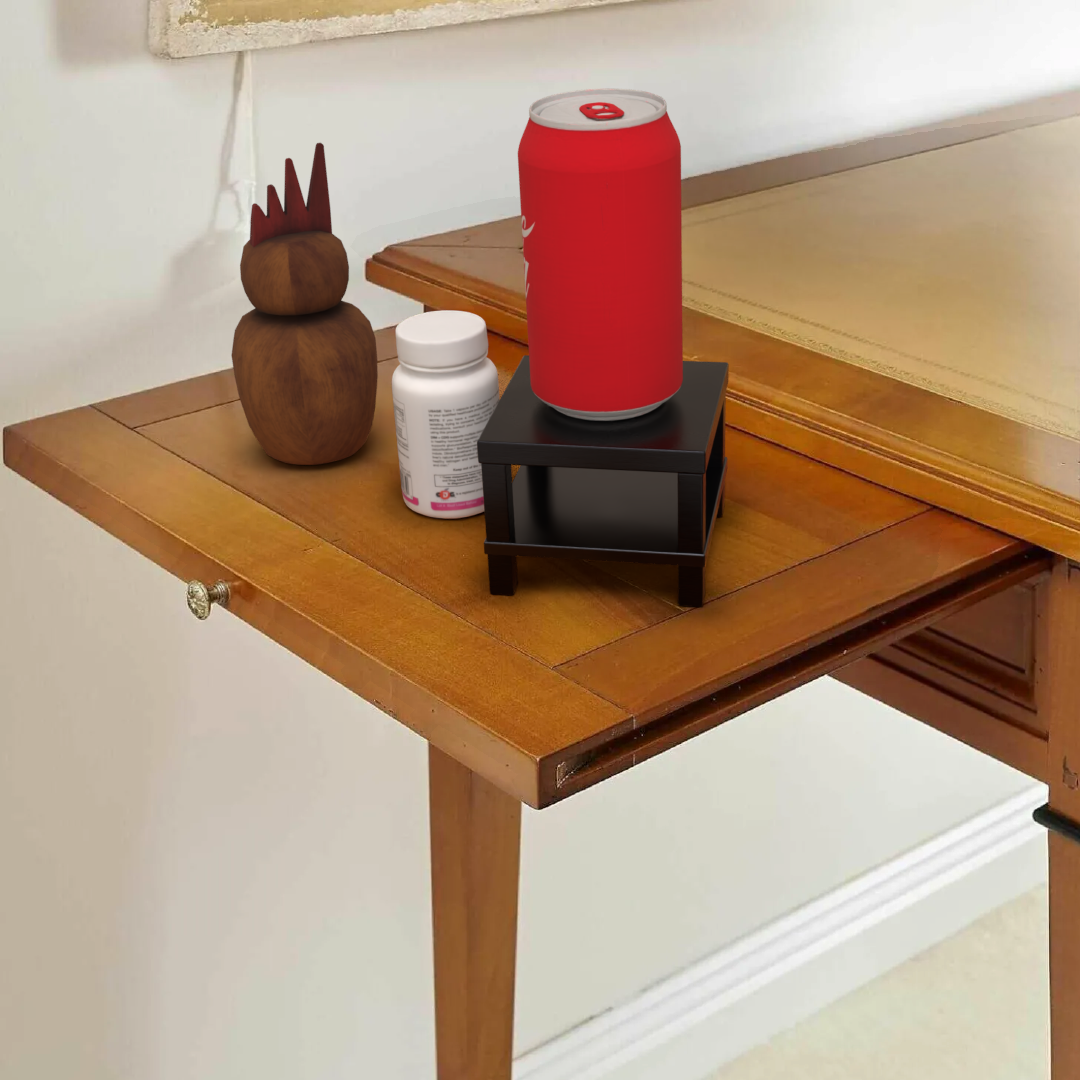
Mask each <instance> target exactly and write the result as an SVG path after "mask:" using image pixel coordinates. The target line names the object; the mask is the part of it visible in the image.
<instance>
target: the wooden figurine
mask: <svg viewBox="0 0 1080 1080" xmlns="http://www.w3.org/2000/svg"><path fill="white" fill-rule="evenodd" d="M314 147H315V148H314V154H313V159H312V165H311V172H310V177H309V178H310V179H309V186H308V191H307V199H306V202H305V199H304V195H303V191H302V189H301V184H300V182H299V178H298V175H297V171H296V168H295V165H294V162H293V159H292V158H290V157H286V158H285V160H284V192H283V193H284V194H283V195H284V196H283V202H284V203H283V205H282V203H281V200H280V198H279V194H278V192H277V188H276V187H275V186H274V185H273V184H267V186H266V213H265V212H264V211H263V209H262V207H261V206H260V205H258V203H253V204H252V205H251V212H250V226H249V228H250V229H249V239H248V241H247V242H245V244H244V245H243V246H242V253H241V259H240V263H239V269H240V270H239V272H240V281H241V284H242V288H243V291H244V294H245V295H246V297H247V299H248V301H249V302H250V304H251V305H252V306H253V309H252V310H249V311H248V312H246V313H245V314H243V315H242V316H241V318H240V320H239V322H238V324H237V325H236V327H235V329H234V332H233V333H234V334H233V339H232V347H231V348H232V349H231V362H232V369H233V374H234V375H233V376H234V380H235V384H236V389H237V393H238V398H239V401H240V404H241V406H242V409H243V412H244V415H245V418H246V421H247V424H248V426H249V428H250V430H251V432H252V433H253V435H254V437H255V439H256V441H257V442H258V444H259V445H260V447H261V448H262V450H263V451H264V452H265V454H266V455H267V456H269V457H270V458H272V459H274V460H277V461H279V462H281V463H284V464H289V465H290V464H291V465H297V466H298V465H299V466H300V465H302V466H304V465H305V466H306V465H307V466H311V465H312V466H316V465H323V464H328V463H333V462H336V461H341V460H344V459H346V458H349V457H352V456H353V455H355V454H356V453H357V452H359V450H360V449H361V448H362V447H363V445H365V443H366V442H367V440H368V437H369V435H370V433H371V430H372V428H373V423H374V417H375V411H376V404H377V393H378V391H377V390H378V378H379V375H378V374H379V373H378V351H377V339H376V336H375V332H374V329H373V327H372V324H371V321H370V320H369V318H368V317H367V316H366V315H365V314H364V313H363V311H362V310H361V309H360V308H359V307H357V306H356V305H354V304H353V303H350V302H349V301H348V302H347V301H345V300H342V299H344V296H345V295H346V292H347V289H348V285H349V281H350V265H349V259H348V252H347V251H346V248H345V245H344V244H343V241H342V240H341V239H340V238H339V237H337V236H336V235H335V234H334V233H333V226H332V213H331V202H330V201H331V200H330V191H329V183H328V173H327V162H326V155H325V153H326V152H325V146H324V144H323V143H322V142H317V143H315V146H314Z"/></svg>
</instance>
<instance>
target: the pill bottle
mask: <svg viewBox="0 0 1080 1080" xmlns="http://www.w3.org/2000/svg"><path fill="white" fill-rule="evenodd" d="M486 324H487V323H486V321H485V319H484V318H483V317H481V316H479V315H478V314H475V313H472V312H469V311H463V310H451V309H450V310H449V309H448V310H446V309H445V310H444V309H443V310H433V311H427V312H422V313H418V314H414V315H411V316H409V317H407V318H405V319H403V320H402V321H400V322H399V323H398V324H397V325H396V327H395V331H394V334H395V345H396V354H397V360H398V363H399V365H397V367H396V368H395V369H394V371H393V372H392V376H391V393H392V403H393V404H392V405H393V414H394V424H395V435H396V445H397V457H398V464H399V475H400V476H399V477H400V488H401V493H402V499H403V501H404V503H405V505H406V506H407V507H408V508H409V509H411V510H412V511H413V512H415V513H418V514H420V515H423V516H426V517H431V518H435V519H461V518H467V517H472V516H475V515H478V514H481V513H483V512H484V498H483V483H482V469H481V463H479V462H478V453H477V441H478V439H479V437H480V435H481V433H482V432H483V430H484V428H485V426H486V424H487V422H488V420H489V419H490V417H491V415H492V413H493V411H494V409H495V408H496V406H497V404H498V402H499V400H500V384H499V373H498V369H497V367H496V365H495V364H494V362H493V361H492V359H490V358H489V357H487V356H488V354H489V338H488V330H487V325H486ZM484 513H485V512H484Z"/></svg>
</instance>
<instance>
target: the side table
mask: <svg viewBox="0 0 1080 1080" xmlns="http://www.w3.org/2000/svg"><path fill="white" fill-rule="evenodd" d="M729 365H730V364H729V363H728V362H727V361H725V362H724V361H700V360H698V361H697V360H683V381H682V385H681V387H680V388H679V390H678V391H677V392H676V393H675V394H674V395H673V396H672V397H671V398H670V399H668V400H667V401H666V402H664V403H662V404H661V405H660V406H658V407H657V408H655V409H654V410H652V411H650V412H648V413H646V414H643V415H640V416H637V417H633V418H628V419H622V420H612V421H594V420H584V419H579V418H574V417H571V416H568V415H565V414H563V413H561V412H559V411H557V410H556V409H554V408H553V407H551V406H549V405H547V404H546V403H544V402H543V401H542V400H540V399H539V398H538V397H537V396H536V395H535V394H534V392H533V390H532V388H531V380H530V362H529V354H528V355H526V354H524V355H522V358H521V359H520V361H519V364H518V366H517V367H516V369H515V371H514V373H513V375H512V376H511V378H510V379H509V382H508V384H507V386H506V387H505V389H504V391H503V393H502V395H501V397H499V399H500V400H499V402H498V404H497V406H496V408H495V409H494V411H493V413H492V415H491V417H490V419H489V420H488V422H487V424H486V426H485V428H484V430H483V432H482V433H481V435H480V437H479V439H478V441H477V453H478V462H479V463H481V469H482V483H483V498H484V524H485V525H484V527H485V536H486V537H485V539H484V541H483V553H484V555H487V556H486V557H487V570H488V584H489V585H488V586H489V593H490V595H503V596H505V595H507V596H513V595H514V594H515V591H516V589H517V586H518V584H519V577H518V576H519V573H518V559H517V558H518V557H522V558H523V557H524V558H541V559H543V558H544V559H557V560H574V561H575V560H576V561H590V562H591V561H592V562H607V563H608V562H609V563H625V564H639V565H640V564H642V565H658V566H675V567H677V604H678V605H679V607H680V606H681V607H683V606H684V607H699V608H701V607H703V606H704V603H705V598H706V565H707V560H708V556H709V551H710V546H711V543H712V538H713V533H714V530H715V525H716V520H717V518H721V517H723V515H724V511H725V506H726V505H725V501H726V500H725V498H726V495H725V493H726V477H727V472H728V463H729V461H728V457H727V456H726V416H727V415H726V414H727V413H726V408H727V407H726V405H727V404H726V403H727V400H726V399H727V389H728V385H729V374H730V373H729V372H730V371H729V369H730V368H729ZM512 466H519V467H518V469H517V472H516V474H515V476H514V477H513V475H512V473H513V472H512Z"/></svg>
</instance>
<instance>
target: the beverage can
mask: <svg viewBox="0 0 1080 1080" xmlns="http://www.w3.org/2000/svg"><path fill="white" fill-rule="evenodd" d="M667 105H668V104H667V101H666V99H664V97H662V96H660V95H658V94H655V93H652V92H648V91H646V90H645V91H644V90H639V89H630V88H588V89H587V88H586V89H577V90H570V91H564V92H560V93H555V94H551V95H548V96H544V97H542V98H540V99H537V100H535V101H534V102H532V103H531V105H530V106H529V108H528V114H529V115H528V116H529V117H528V120H527V123H526V124H525V128H524V130H523V132H522V135H521V138H520V141H519V144H518V148H517V166H518V181H519V182H518V184H519V200H520V202H519V203H520V221H521V236H522V237H521V238H522V252H523V253H522V254H523V255H522V256H523V270H524V273H523V274H524V287H525V288H524V290H525V305H526V306H525V307H526V324H527V325H526V327H527V342H528V355H529V362H530V380H531V388H532V390H533V392H534V394H535V395H536V396H537V397H538V398H539V399H540V400H542V401H543V402H544V403H546V404H547V405H549V406H551V407H553V408H554V409H556V410H557V411H559V412H561V413H563V414H565V415H568V416H571V417H574V418H579V419H584V420H594V421H612V420H622V419H628V418H633V417H637V416H640V415H643V414H646V413H648V412H650V411H652V410H654V409H655V408H657V407H658V406H660V405H661V404H662V403H664V402H666V401H667V400H668V399H670V398H671V397H672V396H673V395H674V394H675V393H676V392H677V391H678V390H679V388H680V387H681V385H682V381H683V361H684V360H683V359H684V357H683V355H684V353H683V351H684V349H683V347H684V345H683V341H684V339H683V338H684V337H683V242H682V241H683V237H682V235H683V234H682V232H683V231H682V230H683V228H682V227H683V226H682V220H683V219H682V145H681V141H680V137H679V134H678V132H677V130H676V128H675V127H674V124H673V122H672V120H671V118H670V115H669V113H668V111H667Z"/></svg>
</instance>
